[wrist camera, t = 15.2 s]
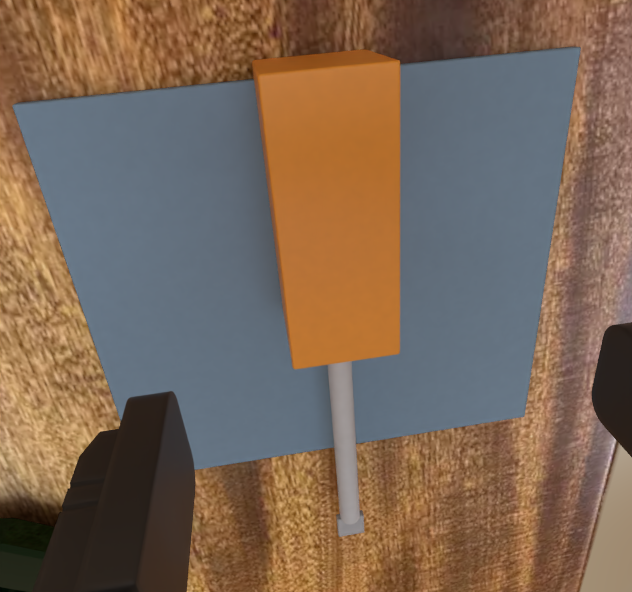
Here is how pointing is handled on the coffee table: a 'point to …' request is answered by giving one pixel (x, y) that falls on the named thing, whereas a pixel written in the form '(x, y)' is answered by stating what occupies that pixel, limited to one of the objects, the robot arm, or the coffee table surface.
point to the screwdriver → (335, 222)
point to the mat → (261, 263)
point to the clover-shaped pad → (21, 553)
